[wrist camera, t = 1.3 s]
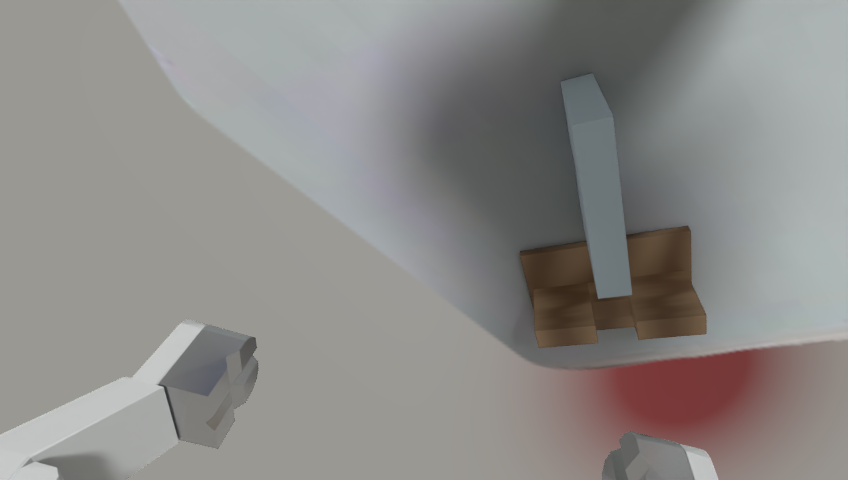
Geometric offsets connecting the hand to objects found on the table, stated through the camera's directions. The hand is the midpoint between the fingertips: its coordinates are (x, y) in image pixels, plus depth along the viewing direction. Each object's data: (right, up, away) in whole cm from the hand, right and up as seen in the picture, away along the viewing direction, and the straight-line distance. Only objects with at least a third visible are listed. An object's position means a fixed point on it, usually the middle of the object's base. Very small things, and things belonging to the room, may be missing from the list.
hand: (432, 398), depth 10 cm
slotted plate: (+14, +10, +29) cm, 34 cm away
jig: (+18, -1, +36) cm, 40 cm away
